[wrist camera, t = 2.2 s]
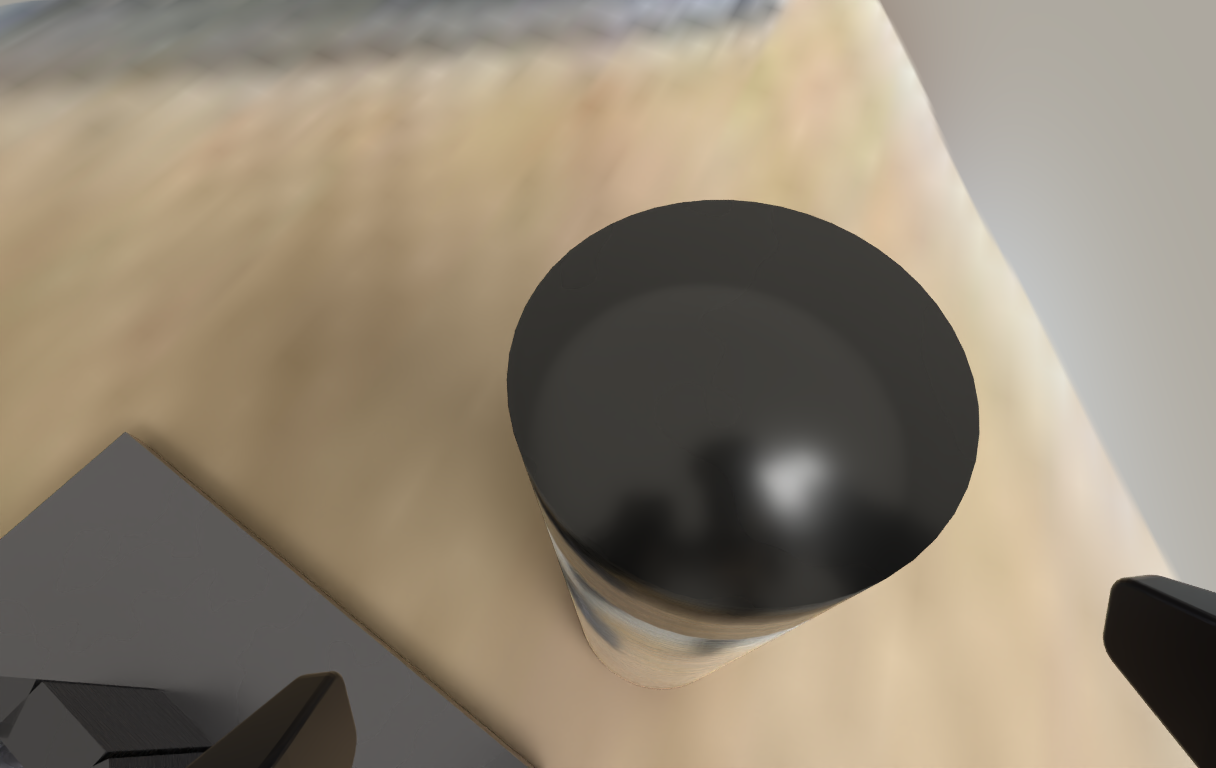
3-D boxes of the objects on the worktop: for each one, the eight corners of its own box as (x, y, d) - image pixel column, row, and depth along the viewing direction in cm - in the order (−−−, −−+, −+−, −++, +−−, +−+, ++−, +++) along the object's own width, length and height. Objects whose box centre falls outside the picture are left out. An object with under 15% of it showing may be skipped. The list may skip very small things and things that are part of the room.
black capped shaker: (687, 727, 15) (867, 735, 4) (546, 622, 16) (408, 424, 6) (766, 577, 17) (1037, 312, 6) (634, 493, 18) (661, 149, 7)
